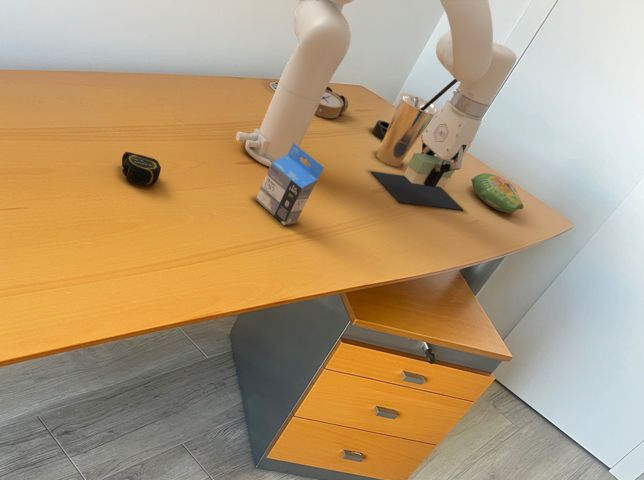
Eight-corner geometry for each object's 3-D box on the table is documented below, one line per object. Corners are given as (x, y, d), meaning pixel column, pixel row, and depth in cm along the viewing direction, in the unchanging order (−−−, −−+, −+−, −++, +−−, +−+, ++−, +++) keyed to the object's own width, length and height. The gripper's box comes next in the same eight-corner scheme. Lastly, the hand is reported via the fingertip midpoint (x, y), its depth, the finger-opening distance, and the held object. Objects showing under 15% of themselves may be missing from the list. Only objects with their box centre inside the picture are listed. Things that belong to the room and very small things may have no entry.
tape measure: (155, 174, 131) (160, 156, 129) (156, 193, 126) (163, 174, 124) (119, 165, 129) (125, 147, 127) (120, 184, 124) (125, 165, 122)
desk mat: (399, 202, 158) (399, 201, 158) (370, 172, 167) (371, 171, 166) (462, 210, 167) (463, 209, 167) (432, 181, 175) (433, 180, 175)
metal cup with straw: (412, 178, 172) (482, 59, 153) (370, 161, 172) (435, 40, 153) (409, 161, 181) (476, 46, 162) (369, 145, 180) (431, 28, 161)
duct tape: (362, 131, 186) (368, 121, 185) (376, 125, 194) (381, 116, 192) (387, 145, 184) (392, 135, 182) (400, 139, 191) (405, 130, 190)
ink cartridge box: (253, 199, 136) (279, 142, 129) (267, 198, 139) (293, 141, 131) (283, 226, 132) (311, 168, 124) (296, 223, 134) (325, 167, 127)
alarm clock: (295, 89, 185) (328, 77, 193) (289, 106, 189) (322, 94, 197) (327, 110, 181) (360, 97, 189) (321, 127, 184) (353, 113, 193)
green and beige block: (411, 183, 156) (423, 161, 153) (401, 174, 159) (414, 152, 156) (444, 188, 161) (457, 166, 157) (434, 178, 163) (447, 157, 160)
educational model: (477, 210, 170) (490, 191, 167) (460, 180, 182) (472, 161, 179) (522, 225, 172) (536, 207, 169) (502, 194, 184) (515, 176, 181)
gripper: (433, 84, 152) (392, 159, 163) (479, 121, 141) (431, 198, 153) (458, 89, 155) (416, 162, 167) (505, 126, 144) (456, 201, 156)
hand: (424, 179), depth 160 cm, fingers closed on green and beige block, 4 cm apart
